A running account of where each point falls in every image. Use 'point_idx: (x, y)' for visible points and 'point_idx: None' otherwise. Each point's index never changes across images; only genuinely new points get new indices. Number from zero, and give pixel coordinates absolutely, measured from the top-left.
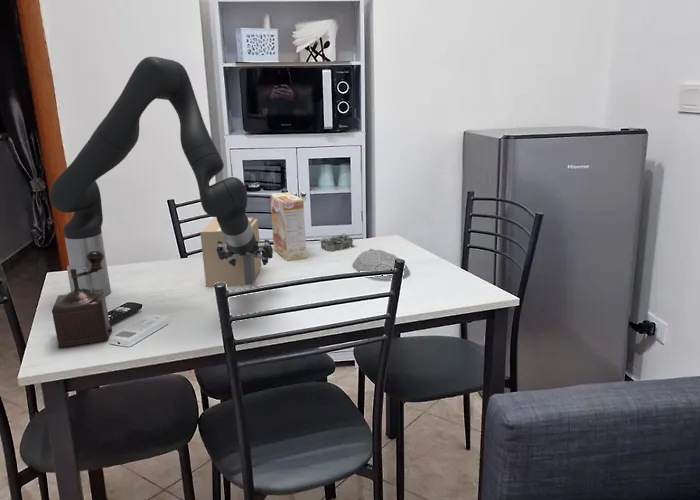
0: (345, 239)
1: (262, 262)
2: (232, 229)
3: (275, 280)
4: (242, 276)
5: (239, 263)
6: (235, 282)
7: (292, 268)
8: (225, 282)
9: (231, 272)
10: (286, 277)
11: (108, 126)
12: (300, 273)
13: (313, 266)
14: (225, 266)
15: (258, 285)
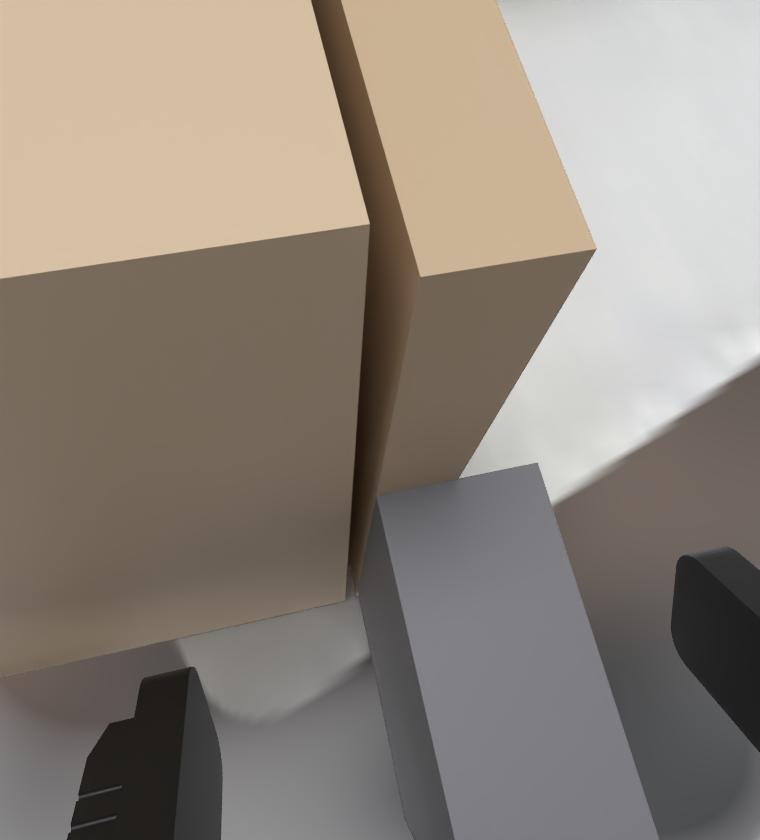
0: None
1: (747, 737)
2: None
3: (550, 424)
4: (286, 602)
5: (239, 582)
6: (208, 629)
7: (556, 140)
8: (90, 652)
9: (138, 628)
10: (611, 340)
11: None
12: (678, 239)
13: (696, 91)
14: (21, 641)
15: None
